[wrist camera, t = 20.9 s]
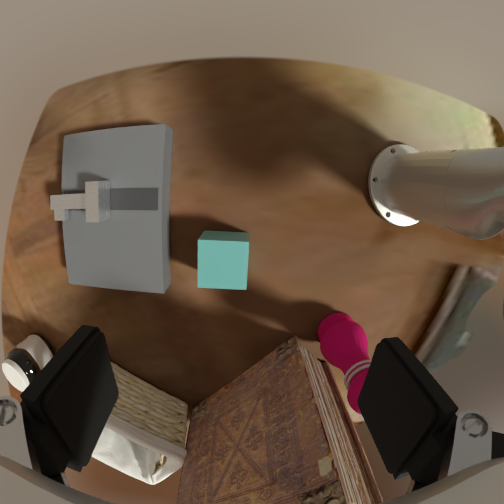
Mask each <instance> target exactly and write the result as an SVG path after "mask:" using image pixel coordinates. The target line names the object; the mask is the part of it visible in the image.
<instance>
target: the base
mask: <svg viewBox="0 0 504 504" xmlns="http://www.w3.org/2000/svg"><path fill="white" fill-rule="evenodd" d="M173 131H174V129H172V128H171V127H169V126H168V125H167V124H157V125H142V126H130V127H120V128H111V129H103V130H95V131H88V132H82V133H76V134H70V135H65V136H64V143H63V157H62V194H72V193H85V182H90V181H108V180H110V219H107V220H104V221H101V222H86V210H85V209H68V214H69V220H65V221H62V224H63V238H64V249H65V258H66V266H67V274H68V280H69V284H75V285H83V286H91V287H100V288H109V289H119V290H129V291H139V292H151V293H163V294H164V293H165V291H166V290H167V288H168V287H169V285H170V283H171V275H170V182H171V160H172V144H173Z"/></svg>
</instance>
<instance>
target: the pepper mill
mask: <svg viewBox="0 0 504 504" xmlns="http://www.w3.org/2000/svg"><path fill="white" fill-rule="evenodd" d="M317 335H318V338H319V340H320V349H321V352H322V354H323V356H324V358H325V359H326V360H327V361H328V362H329V363H331V364H332V365H333V366H335V367H337V368H340V369H341V370H342V371H343V373H344V375H345V377H344V384H345V386H346V388H347V390H348V393H347V399H348V402H349V405H350V406H351V408H352V409H353V410H354V411H356V412H357V413H359V414H361V411H360V409H359V407H358V396H359V394H360V391H361V389H362V386H363V383H364V381H365V378H366V375H367V372H368V370H369V367H370V364H371V361H372V360H370V358H369V356H368V341H367V337H366V334H365V332H364V330H363V328H362V327H361V326H360V325H359V324H357V323H356V322H354V321H353V320H352V319H351V317H350V316H348V315H347V314H345V313H333V314H331V315H329V316H327V317H326V318H324V319H323V321H322V322H321V323H320V325H319V327H318V330H317Z"/></svg>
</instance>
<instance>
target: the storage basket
mask: <svg viewBox="0 0 504 504" xmlns="http://www.w3.org/2000/svg"><path fill="white" fill-rule="evenodd" d="M111 365H112V369H113V373H114V376H115V380H116V383H117V387H118V390H119V396H118V399H117V401H116V403H115V406H114V408H113V410H112V412H111V414H110V416H109V418H108V420H107V422H106V425H105V427H104V429H103V431H102V433H101V435H100V438H99V440H98V442H97V444H96V447H95V449H94V451H93V453H92V457H94V458H96V459H97V460H99V461H101V462H103V463H105V464H107V465H109V466H111V467H113V468H115V469H117V470H119V471H121V472H123V473H125V474H127V475H130V476H132V477H134V478H136V479H139V480H141V481H144V482H146V483H148V484H153V485H154V484H156V483H158V482H160V481H162V480H164V479H165V478H166V477H168V476H169V475H171V474H172V473H174V472H176V471H177V470H178V469H179V468H181V467H182V466H183V463H184V461H185V457H186V455H187V450H186V449H185V437H186V434H185V433H186V431H187V427H186V423H187V414H188V404H187V403H185V402H183V401H181V400H179V399H177V398H176V397H174V396H171V395H169V394H167V393H166V392H164V391H161V390H159V389H157V388H155V387H154V386H152V385H150V384H148V383H146V382H145V381H143V380H142V379H139V378H137V377H136V376H134V375H132V374H130V373H129V372H128V371H125V370H124V369H122V368H120V367H119V366H118V365H116V364H114V363H112V362H111ZM164 456H166V457H167V460H166V463H165V464H163V465H162V463H163V457H164Z"/></svg>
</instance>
